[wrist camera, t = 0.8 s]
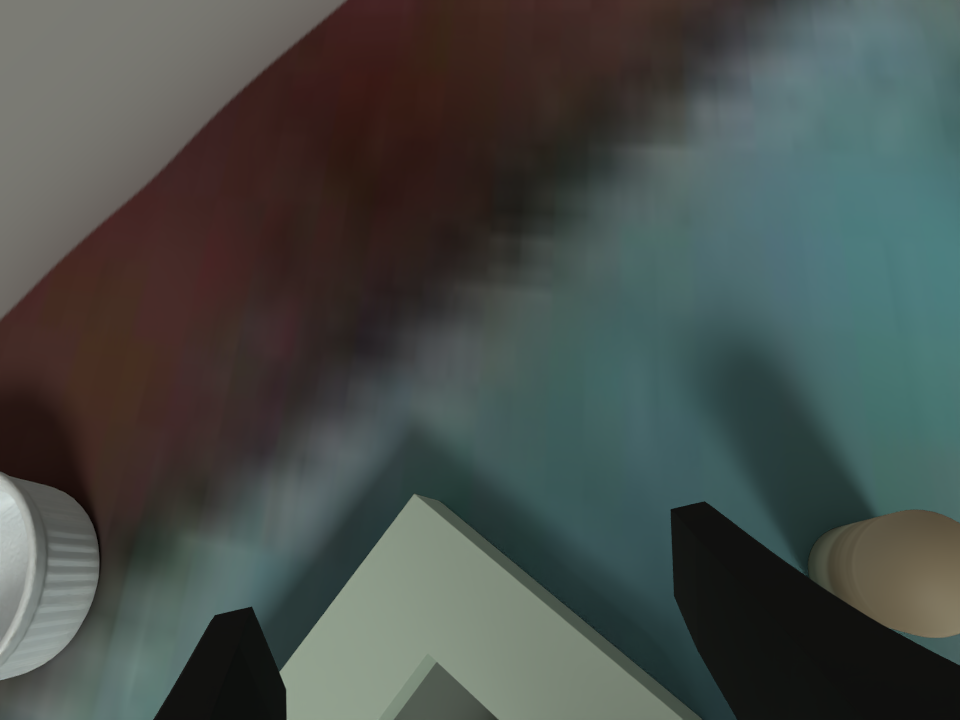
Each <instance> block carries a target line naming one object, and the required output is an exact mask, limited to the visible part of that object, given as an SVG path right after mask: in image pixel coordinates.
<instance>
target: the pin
mask: <svg viewBox="0 0 960 720" xmlns="http://www.w3.org/2000/svg"><path fill="white" fill-rule="evenodd" d="M808 573H809V578H810V579H811V580H813V581H814V582H815V583H817V584H818V585H820V586H821V587H823V588H824V589H826V590H827V591H829V592H830V593H832V594H834V595H835V596H837V597H838V598H840V599H841V600H843V601H845V602H846V603H848V604H849V605H851V606H852V607H854V608H856V609H857V610H859V611H860V612H862V613H864V614H865V615H867V616H869V617H870V618H872V619H874V620H875V621H877V622H879V623H880V624H882V625H884V626H886V627H888V628H891V629H895V630H899V631H902V632H906V633H910V634H913V635H917V636H922V637H930V638H942V637H949V636H953V635H956V634H959V633H960V524H959V523H958V522H956V521H954V520H953V519H951V518H949V517H946V516H944V515H942V514H938V513H935V512H931V511H925V510H905V511H900V512H895V513H891V514H887V515H883V516H879V517H875V518H872V519H868V520H864V521H860V522H856V523H852V524H848V525H844V526H840V527H836V528H833V529H831V530H829V531H827V532H826V533H824V534H823V535H822V536H821V537H820V538H819V539H818V540H817V541H816V542H815V544H814V545H813V547H812V549H811V552H810V555H809V559H808Z"/></svg>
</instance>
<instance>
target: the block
mask: <svg viewBox="0 0 960 720" xmlns="http://www.w3.org/2000/svg"><path fill="white" fill-rule="evenodd" d="M279 673H280V675H281V678H282V680H283V683H284V685H285V687H286V705H287V720H703V719H701V718H700V717H699V716H698V715H697V714H695V713H694V712H693V711H692V710H691V709H689V708H688V707H687V706H686V705H685V704H683V703H682V702H681V701H680V700H679V699H677V698H676V697H675V696H674V695H672V694H671V693H670V692H669V691H668V690H666V689H665V688H664V687H663V686H662V685H660V684H659V683H658V682H657V681H656V680H654V679H653V678H652V677H651V676H650V675H648V674H647V673H646V672H645V671H644V670H642V669H641V668H640V667H639V666H638V665H636V664H635V663H634V662H633V661H632V660H630V659H629V658H628V657H627V656H626V655H624V654H623V653H622V652H621V651H620V650H618V649H617V648H616V647H615V646H613V645H612V644H611V643H610V642H609V641H607V640H606V639H605V638H604V637H603V636H601V635H600V634H599V633H598V632H597V631H595V630H594V629H593V628H592V627H591V626H589V625H588V624H587V623H586V622H585V621H583V620H582V619H581V618H580V617H579V616H577V615H576V614H575V613H574V612H573V611H571V610H570V609H569V608H568V607H567V606H565V605H564V604H563V603H562V602H561V601H559V600H558V599H557V598H556V597H554V596H553V595H552V594H551V593H550V592H548V591H547V590H546V589H545V588H544V587H542V586H541V585H540V584H539V583H538V582H536V581H535V580H534V579H533V578H532V577H530V576H529V575H528V574H527V573H526V572H524V571H523V570H522V569H521V568H520V567H518V566H517V565H516V564H515V563H514V562H512V561H511V560H510V559H509V558H508V557H506V556H505V555H504V554H503V553H501V552H500V551H499V550H498V549H497V548H495V547H494V546H493V545H492V544H491V543H489V542H488V541H487V540H486V539H485V538H483V537H482V536H481V535H480V534H479V533H477V532H476V531H475V530H474V529H473V528H471V527H470V526H469V525H468V524H467V523H465V522H464V521H463V520H462V519H461V518H459V517H458V516H457V515H456V514H455V513H453V512H452V511H451V510H450V509H449V508H447V507H446V506H445V505H444V504H442V503H441V502H440V501H438V500H434V499H431V498H427V497H424V496H420V495H417V494H414V495H413V496H412V498H411V499H410V500H409V502H408V503H407V504H406V506H405V507H404V508H403V509H402V511H401V512H400V513H399V515H398V516H397V517H396V519H395V520H394V521H393V523H392V524H391V525H390V527H389V528H388V529H387V531H386V532H385V533H384V535H383V536H382V537H381V539H380V540H379V541H378V543H377V544H376V545H375V547H374V548H373V549H372V551H371V552H370V553H369V554H368V556H367V557H366V558H365V560H364V561H363V562H362V564H361V565H360V566H359V568H358V569H357V570H356V572H355V573H354V574H353V576H352V577H351V578H350V580H349V581H348V582H347V584H346V585H345V586H344V588H343V589H342V590H341V592H340V593H339V594H338V596H337V597H336V598H335V599H334V601H333V602H332V603H331V605H330V606H329V607H328V609H327V610H326V611H325V613H324V614H323V615H322V617H321V618H320V619H319V621H318V622H317V623H316V625H315V626H314V627H313V629H312V630H311V631H310V633H309V634H308V635H307V637H306V638H305V639H304V641H303V642H302V643H301V644H300V646H299V647H298V648H297V650H296V651H295V652H294V654H293V655H292V656H291V658H290V659H289V660H288V662H287V663H286V664H285V666H284V667H283V668H282V670H281V671H280V672H279Z"/></svg>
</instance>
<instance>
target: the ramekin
mask: <svg viewBox="0 0 960 720" xmlns="http://www.w3.org/2000/svg"><path fill="white" fill-rule="evenodd" d="M99 563H100V559H99V547H98V541H97V537H96V533H95V530H94V527H93V524H92V522H91V520H90V518H89V516H88V514H87V513H86V512H85V511H84V509H83V508H82V507H81V505H80V504H79V503H77V501H76V500H75V499H74V498H72V497H71V496H69V495H68V494H66V493H65V492H63V491H60V490H58V489H56V488H53V487H50V486H47V485H43V484H39V483H35V482H31V481H27V480H23V479H19V478H15V477H11V476H8V475H7V474H5V473H3V472H0V680H3V679H7V678H10V677H13V676H17V675H20V674H24V673H27V672H29V671H31V670H33V669H35V668H37V667H39V666H41V665H43V664H45V663H46V662H47V661H49V660H50V659H52V658H53V657H54V656H55V655H57V654H58V653H59V652H60V651H61V650H62V649H64V648H65V646H66V645H67V644H68V643H69V642H70V641H71V639H72V638H73V637H74V635H75V634H76V632H77V631H78V629H79V628H80V626H81V624H82V622H83V620H84V619H85V617H86V615H87V613H88V611H89V608H90V606H91V603H92V601H93V598H94V595H95V591H96V588H97V583H98V578H99Z"/></svg>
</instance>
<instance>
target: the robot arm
mask: <svg viewBox="0 0 960 720" xmlns="http://www.w3.org/2000/svg"><path fill="white" fill-rule="evenodd" d="M671 532H672V556H673V580H674V597H675V599H676V602H677V604H678V606H679V609H680V611H681V613H682V616H683V618H684V620H685V623H686V625H687V627H688V630H689V632H690V634H691V636H692V639H693V641H694V643H695V645H696V648H697V650H698V652H699V654H700V655H701V657H702V659H703V661H704V663H705V664H706V666H707V668H708V670H709V671H710V673H711V675H712V676H713V678H714V680H715V682H716V683H717V685H718V687H719V689H720V690H721V692H722V694H723V696H724V697H725V699H726V701H727V702H728V704H729V706H730V708H731V709H732V711H733V713H734V714H735V716H736V718H737V720H960V665H958V664H956V663H954V662H952V661H950V660H948V659H946V658H944V657H942V656H940V655H938V654H936V653H934V652H932V651H930V650H928V649H926V648H924V647H922V646H921V645H919V644H917V643H915V642H913V641H911V640H909V639H908V638H906V637H904V636H902V635H900V634H898V633H896V632H895V631H893V630H891V629H889V628H887V627H886V626H884V625H882V624H880V623H879V622H877V621H875V620H874V619H872V618H870V617H869V616H867V615H865V614H864V613H862V612H860V611H859V610H857V609H856V608H854V607H852V606H851V605H849V604H848V603H846V602H845V601H843V600H841V599H840V598H838V597H837V596H835V595H834V594H832V593H830V592H829V591H827V590H826V589H824V588H823V587H821V586H820V585H818V584H817V583H815V582H814V581H813V580H811V579H810V578H808V577H807V576H805V575H804V574H803V573H801V572H800V571H798V570H797V569H795V568H794V567H792V566H791V565H790V564H788V563H787V562H785V561H784V560H782V559H781V558H780V557H778V556H777V555H776V554H774V553H773V552H771V551H770V550H769V549H767V548H766V547H765V546H763V545H762V544H761V543H759V542H758V541H757V540H755V539H754V538H753V537H751V536H750V535H749V534H747V533H746V532H745V531H743V530H742V529H741V528H739V527H738V526H737V525H735V524H734V523H733V522H732V521H730V520H729V519H728V518H726V517H725V516H724V515H722V514H721V513H720V512H719V511H717V510H716V509H715V508H713V507H712V506H711V505H709V504H708V503H706V502H705V501H704V502H700V503H696V504H691V505H687V506H683V507H678V508H674V509H671ZM153 720H287V705H286V687H285V685H284V683H283V680H282V678H281V675H280V673H279V671H278V668H277V666H276V663H275V661H274V659H273V656H272V654H271V651H270V649H269V647H268V644H267V642H266V639H265V637H264V634H263V632H262V630H261V627H260V625H259V622H258V620H257V618H256V615H255V613H254V610H253V608H252V607H248V608H244V609H240V610H235V611H231V612H227V613H223V614H218V615H215V616H214V618H213V619H212V620H211V622H210V623H209V625H208V627H207V629H206V630H205V632H204V634H203V636H202V637H201V639H200V641H199V643H198V644H197V646H196V648H195V650H194V652H193V653H192V655H191V657H190V659H189V660H188V662H187V664H186V666H185V667H184V669H183V671H182V673H181V674H180V676H179V678H178V679H177V681H176V683H175V685H174V686H173V688H172V690H171V691H170V693H169V695H168V697H167V698H166V700H165V701H164V703H163V705H162V706H161V708H160V710H159V711H158V713H157V715H156V716H155V718H154V719H153Z"/></svg>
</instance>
